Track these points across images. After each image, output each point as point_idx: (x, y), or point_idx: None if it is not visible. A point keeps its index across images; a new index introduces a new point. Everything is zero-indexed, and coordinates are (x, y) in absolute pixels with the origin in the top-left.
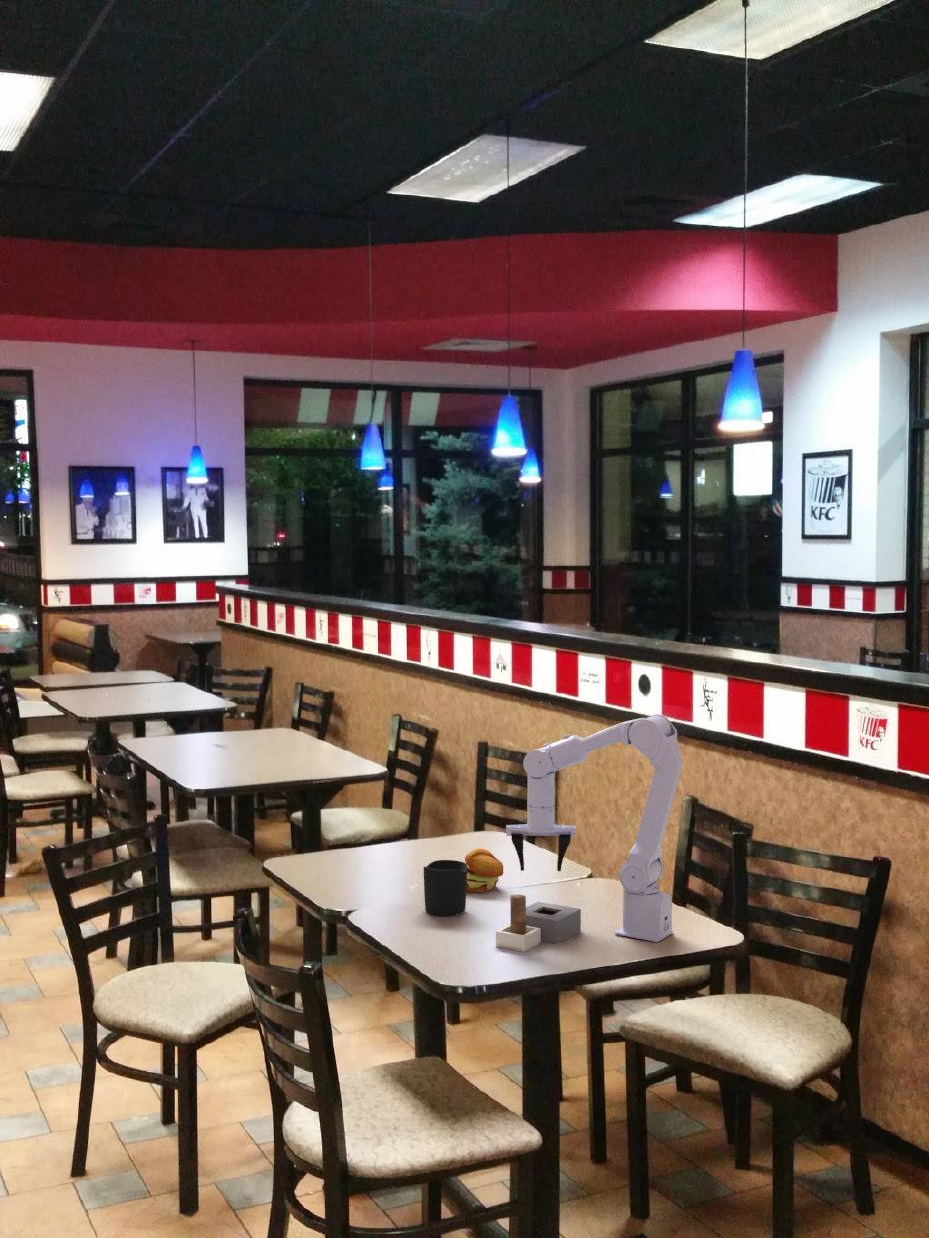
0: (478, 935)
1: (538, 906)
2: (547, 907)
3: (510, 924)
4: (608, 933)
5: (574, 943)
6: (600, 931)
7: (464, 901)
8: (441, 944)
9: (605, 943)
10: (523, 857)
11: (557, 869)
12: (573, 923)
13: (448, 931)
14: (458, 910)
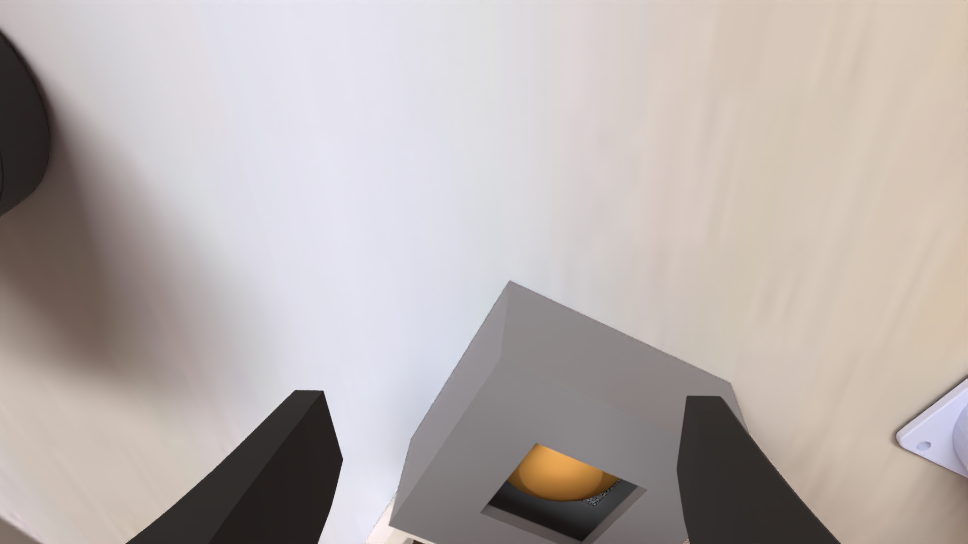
0: None
1: (509, 439)
2: (562, 453)
3: (393, 536)
4: (868, 409)
5: None
6: (835, 385)
7: (4, 156)
8: None
9: None
10: (270, 476)
11: (680, 464)
12: None
13: (133, 404)
14: (30, 188)
